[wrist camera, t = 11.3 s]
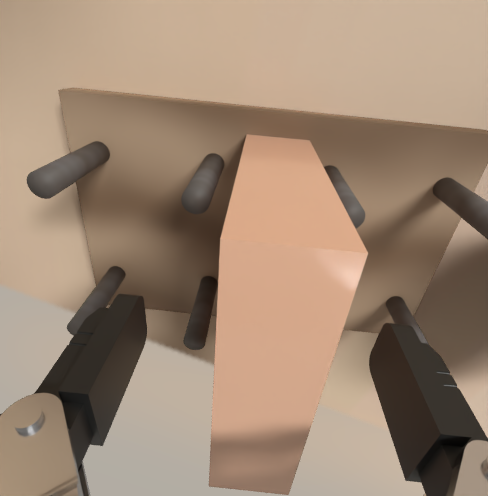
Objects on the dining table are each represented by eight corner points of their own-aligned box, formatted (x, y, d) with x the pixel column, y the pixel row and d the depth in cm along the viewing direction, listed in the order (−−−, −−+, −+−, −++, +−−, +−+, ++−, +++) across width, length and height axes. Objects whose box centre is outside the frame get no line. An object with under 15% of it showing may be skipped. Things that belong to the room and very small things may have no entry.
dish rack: (72, 88, 15) (-23, 103, 10) (484, 129, 15) (594, 166, 10) (107, 291, 21) (59, 362, 16) (397, 322, 21) (437, 403, 16)
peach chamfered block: (246, 134, 14) (220, 238, 6) (309, 140, 14) (368, 253, 6) (233, 305, 19) (208, 486, 11) (279, 310, 19) (288, 495, 11)
